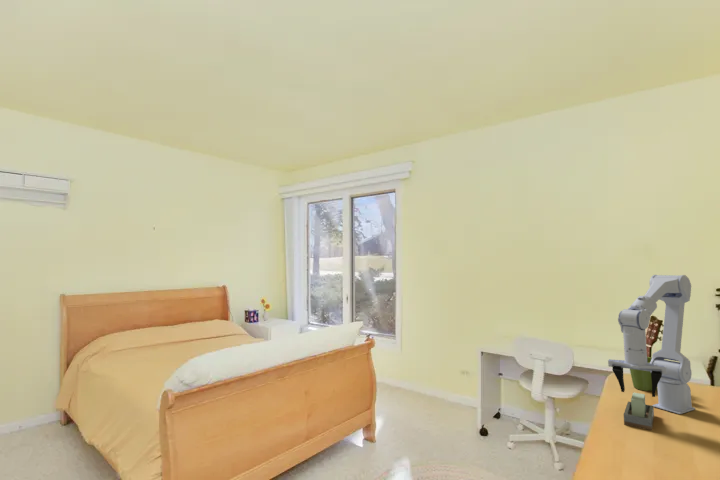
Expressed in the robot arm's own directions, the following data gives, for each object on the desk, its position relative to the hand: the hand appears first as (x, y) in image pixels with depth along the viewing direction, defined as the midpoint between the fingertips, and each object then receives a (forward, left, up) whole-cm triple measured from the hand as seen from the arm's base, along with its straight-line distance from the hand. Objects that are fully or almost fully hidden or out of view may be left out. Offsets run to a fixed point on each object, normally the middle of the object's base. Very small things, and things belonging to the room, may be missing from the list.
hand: (638, 393), depth 119 cm
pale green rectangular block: (0, 0, -7) cm, 7 cm away
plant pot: (-34, -16, -8) cm, 39 cm away
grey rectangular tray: (0, 0, -8) cm, 8 cm away
